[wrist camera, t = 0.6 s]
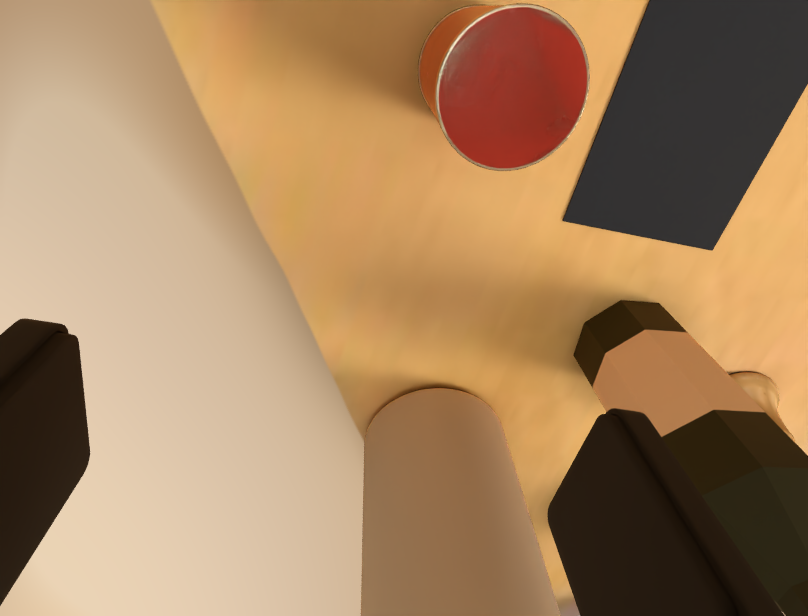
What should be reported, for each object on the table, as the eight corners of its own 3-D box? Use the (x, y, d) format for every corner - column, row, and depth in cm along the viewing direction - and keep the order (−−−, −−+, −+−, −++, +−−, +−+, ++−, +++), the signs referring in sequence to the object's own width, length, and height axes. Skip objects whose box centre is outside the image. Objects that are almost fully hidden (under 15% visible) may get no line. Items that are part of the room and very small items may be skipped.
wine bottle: (567, 314, 40) (928, 877, 14) (674, 286, 39) (1267, 829, 13) (578, 391, 44) (870, 934, 18) (675, 367, 43) (1124, 900, 17)
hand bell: (672, 442, 48) (792, 615, 34) (698, 372, 43) (848, 540, 30) (757, 438, 48) (909, 609, 34) (791, 369, 44) (980, 533, 30)
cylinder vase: (453, 498, 50) (513, 862, 29) (340, 458, 47) (313, 842, 25) (528, 414, 45) (670, 784, 23) (408, 362, 41) (446, 744, 20)
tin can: (432, -9, 28) (459, -16, 20) (544, 20, 29) (615, 25, 21) (407, 115, 31) (419, 155, 23) (508, 137, 32) (556, 183, 24)
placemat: (669, -49, 28) (670, -50, 28) (851, 5, 30) (852, 5, 29) (562, 220, 36) (563, 220, 35) (711, 249, 37) (712, 250, 37)
